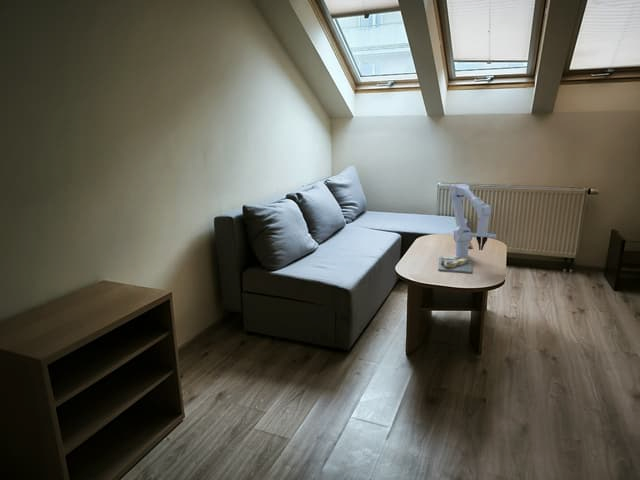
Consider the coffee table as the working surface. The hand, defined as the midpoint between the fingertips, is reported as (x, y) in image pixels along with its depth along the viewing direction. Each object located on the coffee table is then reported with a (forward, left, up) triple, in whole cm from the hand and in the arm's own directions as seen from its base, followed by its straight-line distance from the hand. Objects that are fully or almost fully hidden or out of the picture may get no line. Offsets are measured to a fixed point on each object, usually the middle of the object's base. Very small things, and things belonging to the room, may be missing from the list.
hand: (480, 249), depth 255 cm
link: (+6, -13, -8) cm, 16 cm away
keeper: (+6, -18, -8) cm, 21 cm away
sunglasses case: (-40, -7, -10) cm, 42 cm away
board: (+5, -14, -9) cm, 17 cm away
